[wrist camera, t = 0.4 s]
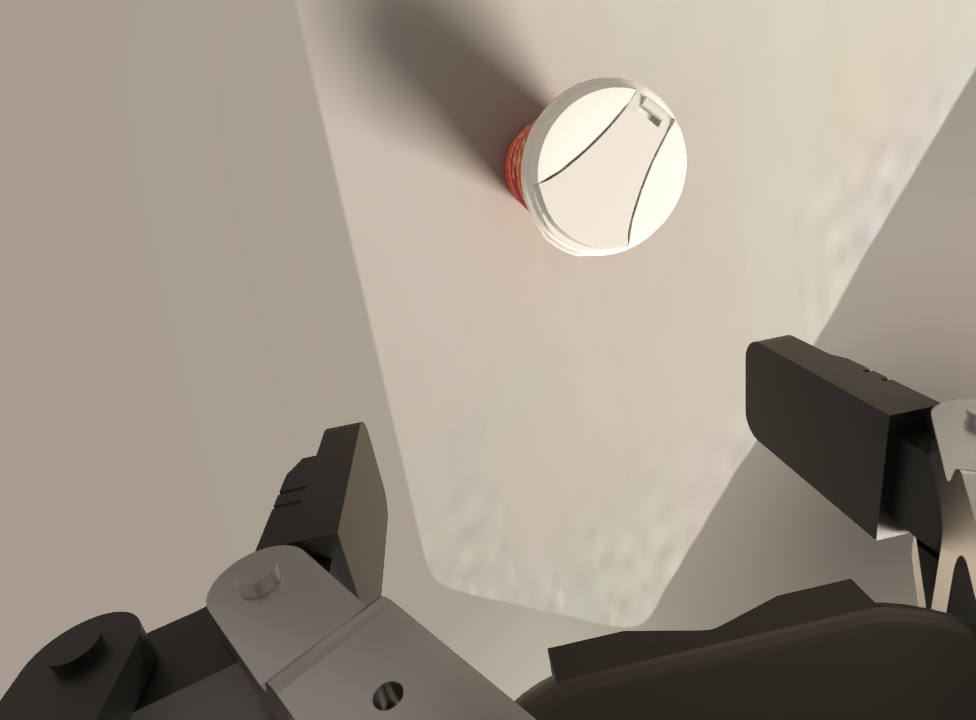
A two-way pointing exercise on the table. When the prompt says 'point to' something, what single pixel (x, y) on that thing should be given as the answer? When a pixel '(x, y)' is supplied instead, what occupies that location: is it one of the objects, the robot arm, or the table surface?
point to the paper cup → (599, 167)
